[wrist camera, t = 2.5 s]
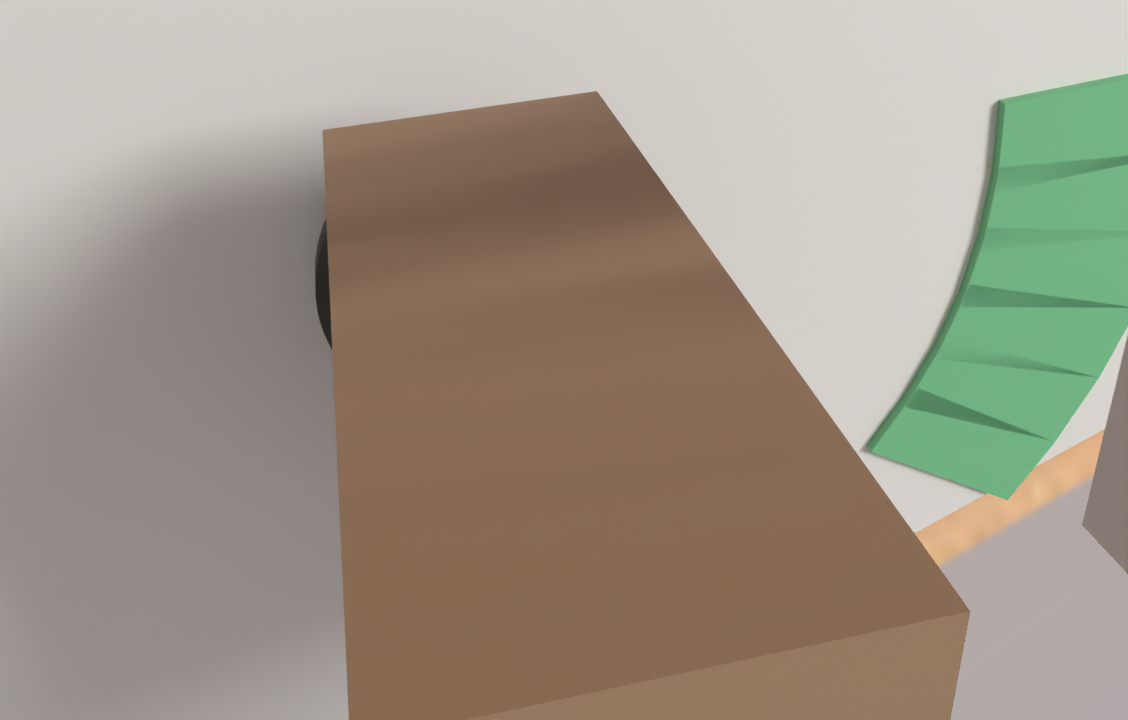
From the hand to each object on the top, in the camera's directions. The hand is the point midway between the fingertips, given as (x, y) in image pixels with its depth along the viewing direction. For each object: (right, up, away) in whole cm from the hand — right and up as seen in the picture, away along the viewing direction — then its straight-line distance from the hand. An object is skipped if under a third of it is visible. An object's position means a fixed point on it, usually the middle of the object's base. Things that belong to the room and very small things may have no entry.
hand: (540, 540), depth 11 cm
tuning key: (-1, +1, +7) cm, 7 cm away
